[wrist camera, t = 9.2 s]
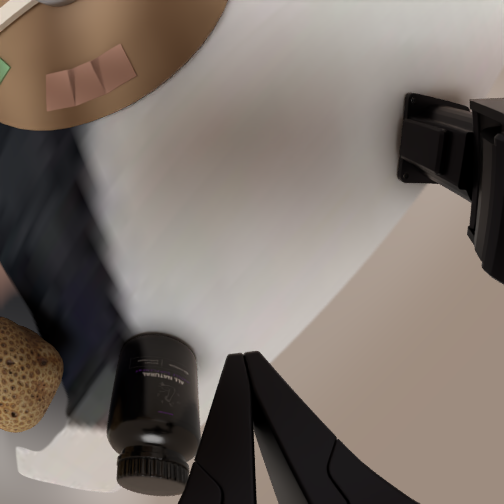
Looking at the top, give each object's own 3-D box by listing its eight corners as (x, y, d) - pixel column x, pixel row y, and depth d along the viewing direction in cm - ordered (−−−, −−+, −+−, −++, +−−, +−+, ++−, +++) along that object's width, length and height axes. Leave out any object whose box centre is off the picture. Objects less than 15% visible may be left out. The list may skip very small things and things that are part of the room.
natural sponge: (-29, 306, 20) (-74, 385, 11) (20, 271, 19) (-37, 366, 11) (30, 371, 24) (6, 452, 16) (87, 350, 24) (65, 449, 15)
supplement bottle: (181, 323, 24) (185, 467, 14) (206, 374, 27) (219, 496, 17) (105, 338, 24) (81, 470, 13) (138, 386, 27) (134, 501, 17)
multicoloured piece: (91, -62, 8) (64, -95, 4) (108, -18, 10) (81, -48, 6) (-40, 36, 9) (-86, 36, 5) (-28, 80, 11) (-76, 89, 7)
